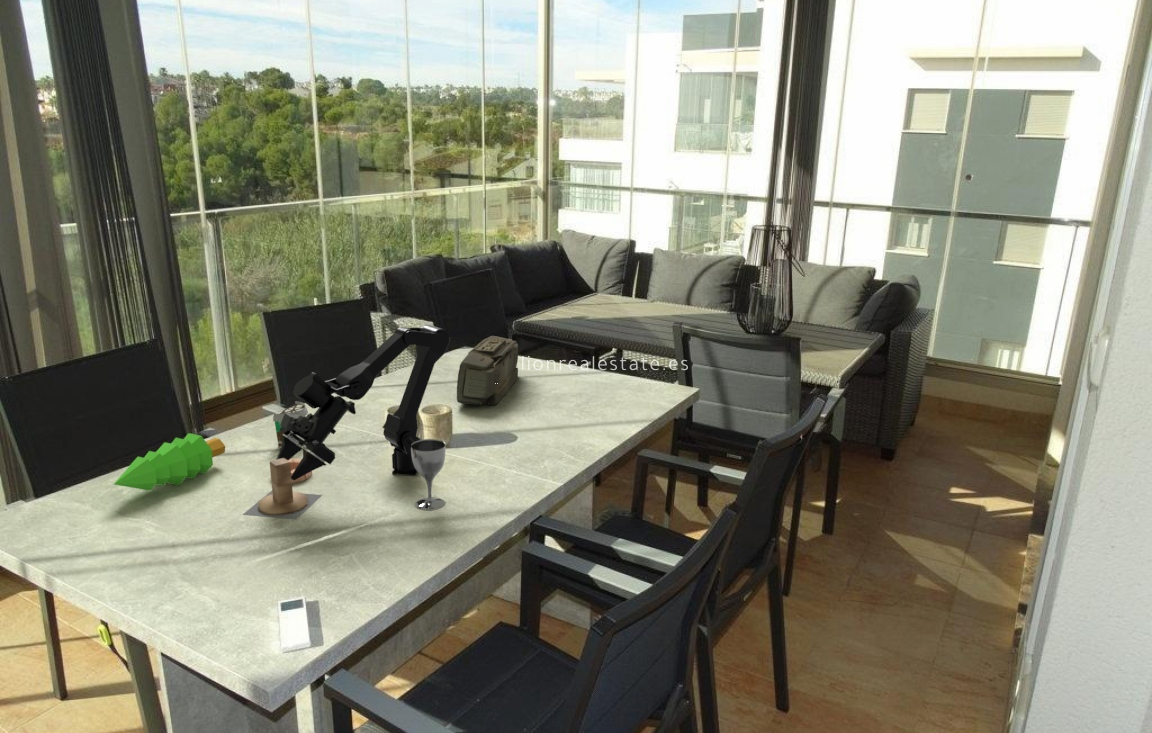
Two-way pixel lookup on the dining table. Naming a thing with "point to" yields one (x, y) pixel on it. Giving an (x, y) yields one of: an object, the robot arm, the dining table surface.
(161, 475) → the decorative tree
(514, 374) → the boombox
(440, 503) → the wine glass
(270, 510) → the walnut lid
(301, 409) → the food container
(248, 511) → the rubber mat
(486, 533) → the dining table surface
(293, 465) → the terracotta bowl
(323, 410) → the robot arm
